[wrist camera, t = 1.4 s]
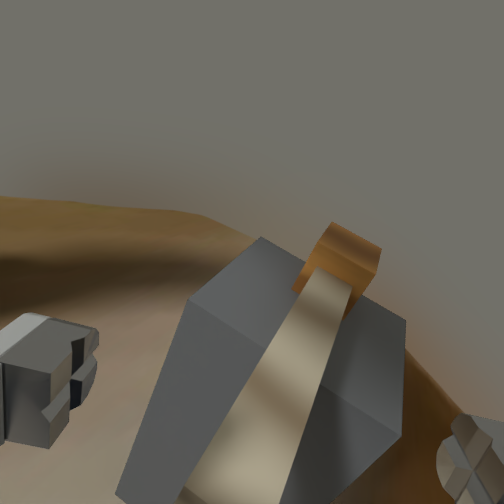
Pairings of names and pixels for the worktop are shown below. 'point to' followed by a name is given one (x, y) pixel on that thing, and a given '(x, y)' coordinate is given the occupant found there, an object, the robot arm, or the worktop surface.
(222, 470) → the bar
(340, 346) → the cabinet
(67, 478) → the worktop surface
